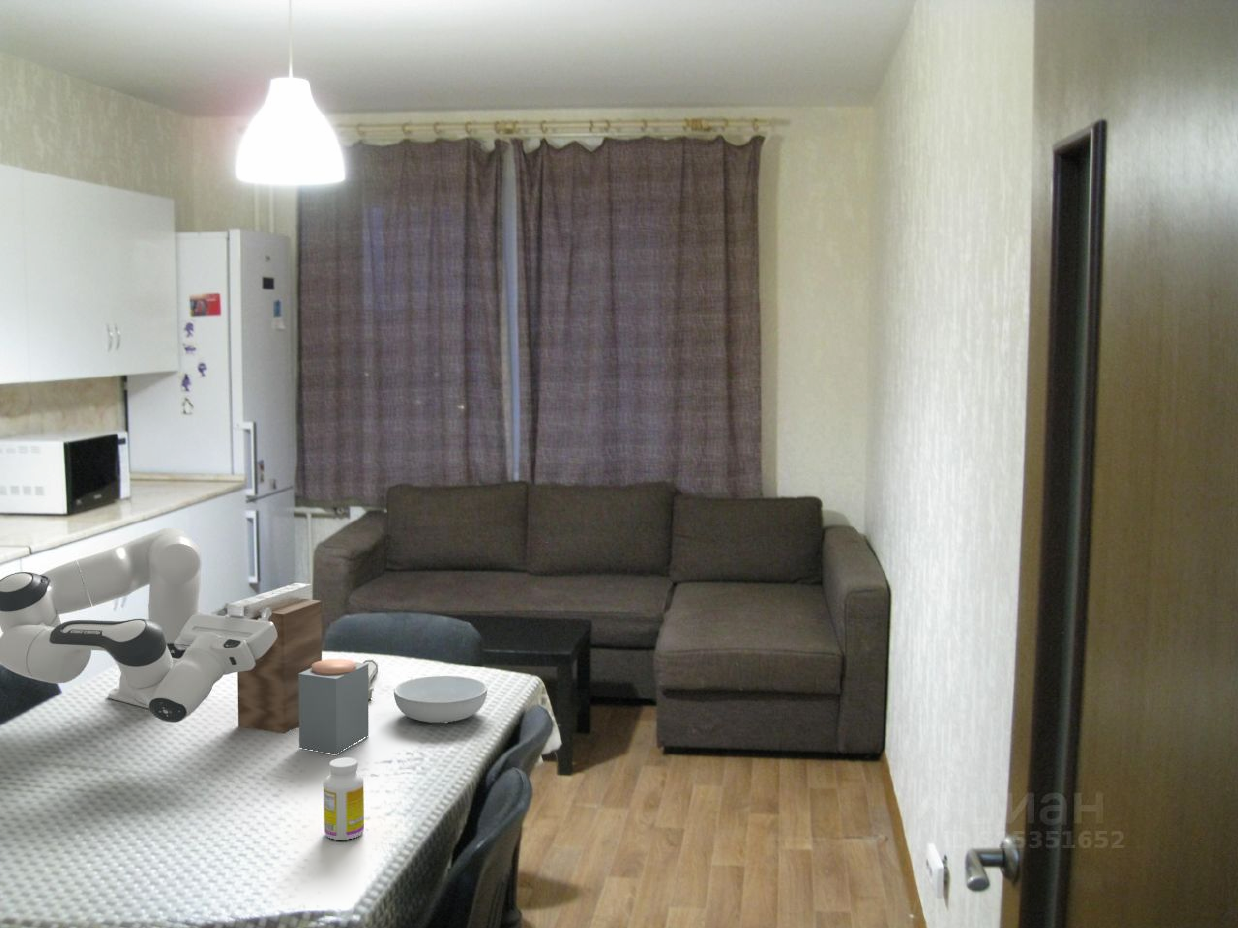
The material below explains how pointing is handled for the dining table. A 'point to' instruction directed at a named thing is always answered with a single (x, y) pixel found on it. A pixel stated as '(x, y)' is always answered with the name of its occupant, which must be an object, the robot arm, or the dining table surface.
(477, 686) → the serving bowl
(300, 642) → the stand
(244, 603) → the white bar
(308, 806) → the dining table surface
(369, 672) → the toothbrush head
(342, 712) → the low block
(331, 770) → the supplement bottle
